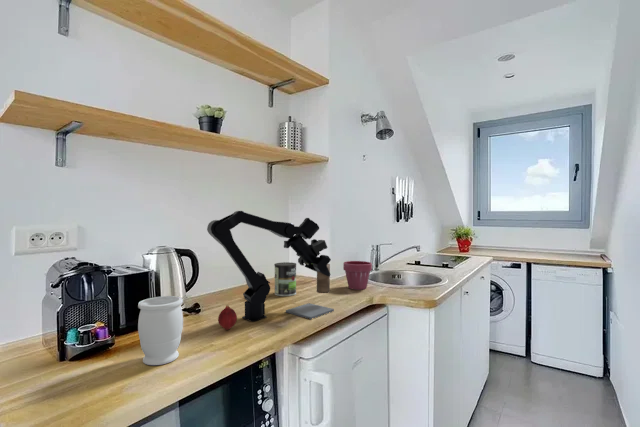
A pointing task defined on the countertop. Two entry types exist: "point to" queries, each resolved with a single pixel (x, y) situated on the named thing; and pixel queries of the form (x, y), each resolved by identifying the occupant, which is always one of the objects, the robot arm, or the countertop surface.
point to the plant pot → (357, 274)
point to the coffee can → (285, 279)
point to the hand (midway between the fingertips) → (326, 274)
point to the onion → (227, 318)
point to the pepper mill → (323, 282)
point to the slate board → (309, 310)
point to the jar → (160, 328)
